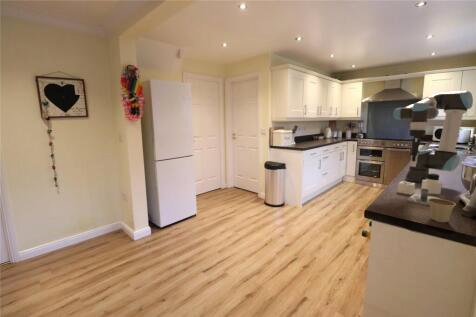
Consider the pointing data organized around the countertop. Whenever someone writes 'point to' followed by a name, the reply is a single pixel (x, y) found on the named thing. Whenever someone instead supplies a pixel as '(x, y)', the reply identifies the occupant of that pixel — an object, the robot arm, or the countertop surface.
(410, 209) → the countertop surface
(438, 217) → the flower pot
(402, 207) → the countertop surface
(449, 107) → the robot arm
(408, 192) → the cream cube
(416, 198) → the hub plate
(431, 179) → the medicine bottle
